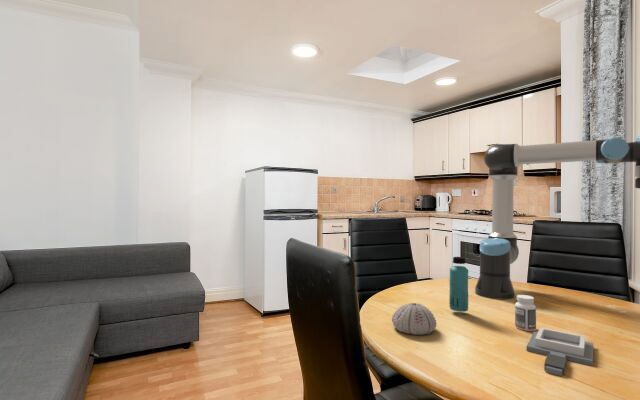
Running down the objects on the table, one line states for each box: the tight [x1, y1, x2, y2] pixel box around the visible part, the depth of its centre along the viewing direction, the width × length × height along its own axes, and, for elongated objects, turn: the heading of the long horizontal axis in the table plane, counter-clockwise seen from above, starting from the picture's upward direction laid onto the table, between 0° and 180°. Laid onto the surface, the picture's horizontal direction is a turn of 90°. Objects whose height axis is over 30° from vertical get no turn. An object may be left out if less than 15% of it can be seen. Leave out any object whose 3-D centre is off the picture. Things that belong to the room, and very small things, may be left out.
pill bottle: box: [514, 294, 537, 332], centre depth 112 cm, size 6×6×10 cm
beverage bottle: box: [448, 256, 470, 313], centre depth 127 cm, size 6×7×20 cm
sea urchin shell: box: [391, 302, 437, 336], centre depth 111 cm, size 13×14×8 cm
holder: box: [526, 326, 594, 377], centre depth 92 cm, size 14×25×3 cm, turn 142°
